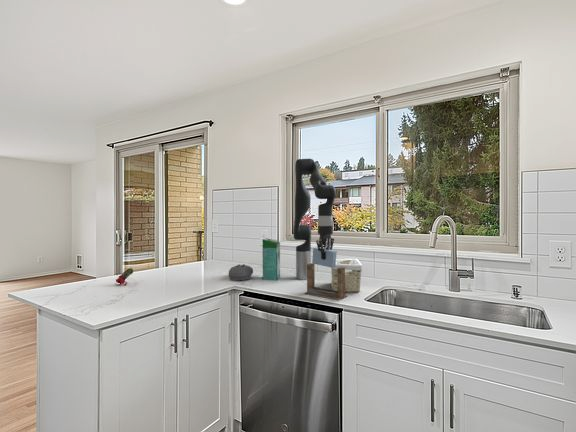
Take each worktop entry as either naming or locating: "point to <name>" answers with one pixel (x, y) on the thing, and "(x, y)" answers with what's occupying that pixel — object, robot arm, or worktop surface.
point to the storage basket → (348, 274)
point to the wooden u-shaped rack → (325, 292)
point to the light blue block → (329, 260)
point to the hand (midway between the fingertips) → (325, 258)
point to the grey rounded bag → (240, 272)
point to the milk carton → (271, 259)
